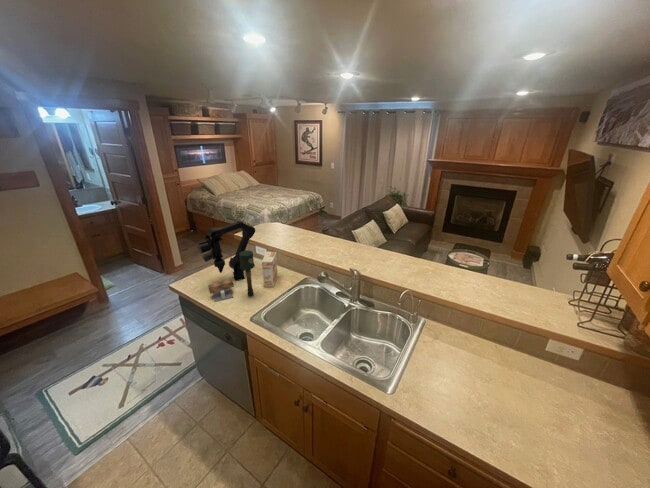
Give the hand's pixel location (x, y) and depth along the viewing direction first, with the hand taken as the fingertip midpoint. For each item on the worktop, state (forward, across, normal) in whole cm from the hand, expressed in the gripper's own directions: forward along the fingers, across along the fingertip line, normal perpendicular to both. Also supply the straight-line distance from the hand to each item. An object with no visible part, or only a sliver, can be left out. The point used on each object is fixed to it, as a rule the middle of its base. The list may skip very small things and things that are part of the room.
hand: (219, 269), depth 171 cm
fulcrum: (+12, +12, -2) cm, 17 cm away
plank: (+7, +12, -2) cm, 14 cm away
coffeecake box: (+12, +10, +30) cm, 34 cm away
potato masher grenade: (+12, +21, +14) cm, 28 cm away
